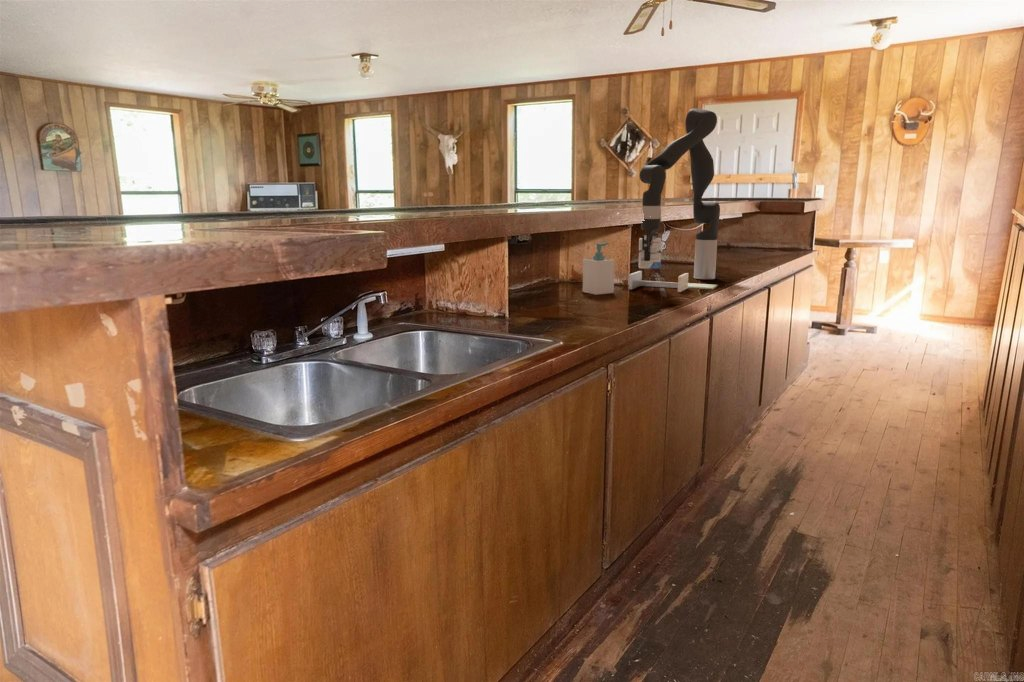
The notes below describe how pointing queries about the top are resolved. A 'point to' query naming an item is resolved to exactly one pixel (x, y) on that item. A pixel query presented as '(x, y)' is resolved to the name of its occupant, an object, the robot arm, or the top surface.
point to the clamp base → (647, 282)
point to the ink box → (651, 255)
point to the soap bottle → (598, 273)
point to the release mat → (701, 286)
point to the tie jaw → (683, 282)
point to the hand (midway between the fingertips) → (649, 259)
